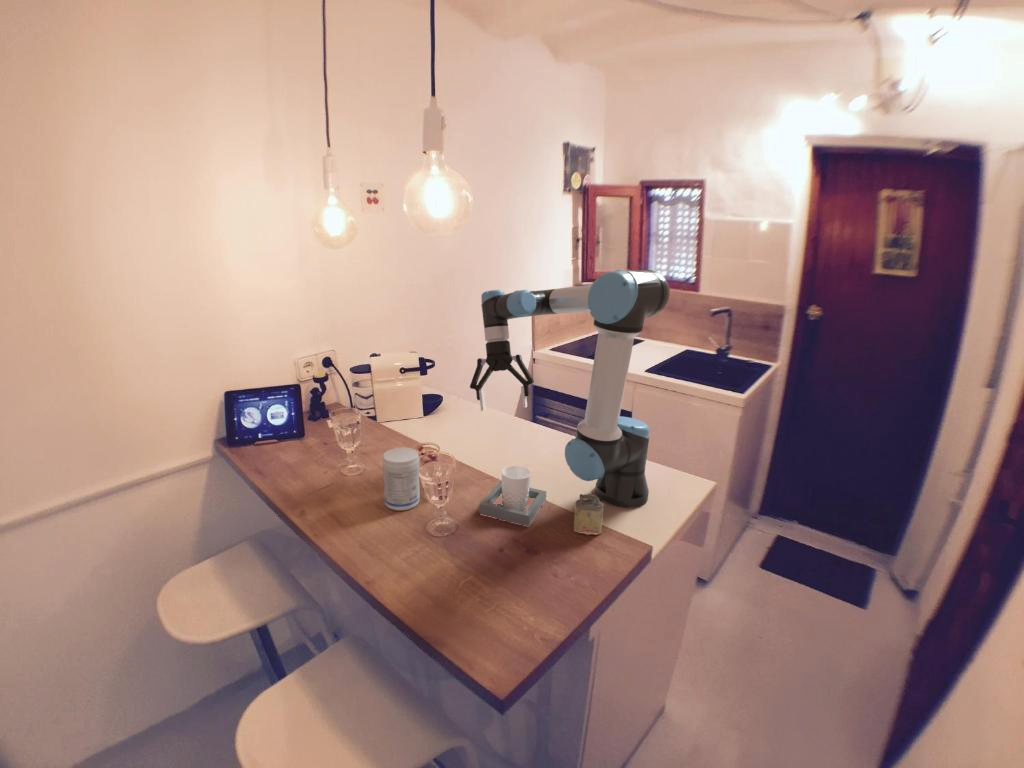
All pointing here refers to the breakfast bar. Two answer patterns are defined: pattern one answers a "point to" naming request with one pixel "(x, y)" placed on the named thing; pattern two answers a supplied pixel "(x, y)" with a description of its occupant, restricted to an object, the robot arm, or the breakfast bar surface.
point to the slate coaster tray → (507, 513)
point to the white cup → (515, 487)
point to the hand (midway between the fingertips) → (504, 409)
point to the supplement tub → (401, 478)
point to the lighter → (588, 514)
